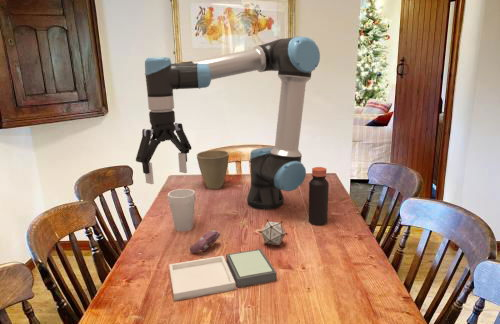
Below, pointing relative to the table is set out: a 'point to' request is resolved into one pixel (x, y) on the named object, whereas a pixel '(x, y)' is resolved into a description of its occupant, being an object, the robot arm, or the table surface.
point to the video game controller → (205, 241)
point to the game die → (273, 233)
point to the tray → (200, 277)
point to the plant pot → (213, 167)
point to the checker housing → (255, 278)
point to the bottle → (318, 197)
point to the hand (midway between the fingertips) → (167, 177)
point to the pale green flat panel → (250, 263)
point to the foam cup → (182, 208)
